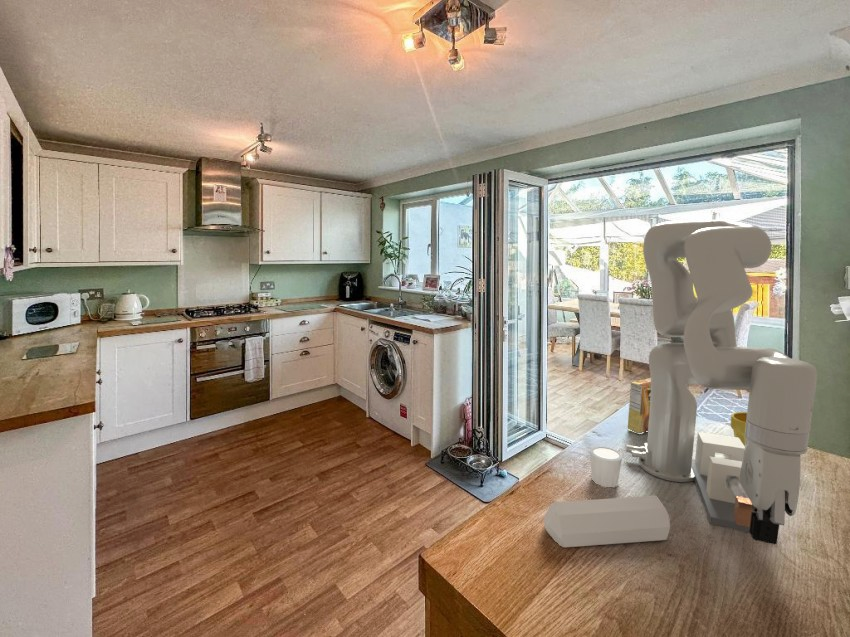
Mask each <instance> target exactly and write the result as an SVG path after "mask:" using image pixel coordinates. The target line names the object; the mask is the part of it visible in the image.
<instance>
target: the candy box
mask: <svg viewBox="0 0 850 637" xmlns="http://www.w3.org/2000/svg"><path fill="white" fill-rule="evenodd" d="M629 392H630V393H629V404H628V406H629V407H628V415H627V416H628V418H627V428H628V429H630V430H632V431H634V432H636V433H642V432H646V431H648V427H649V413H650V398H651V377H649V378H645V379H640V380H639V379H638V380H635V381H632V382H630V391H629Z"/></svg>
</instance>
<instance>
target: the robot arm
mask: <svg viewBox="0 0 850 637" xmlns="http://www.w3.org/2000/svg"><path fill="white" fill-rule="evenodd" d="M642 245H643V246H642V248H643V249H642V252H643V259H644V263H645V266H646V269H647V273H648V276H649V278H650V281H651V282H650V283H651V302H652V315H653V316H652V317H653V325H654V328H655V330H656V332H657V333H658V334H659V335H661V336H663V337H668V338H669V337H670V338H683V342H665V343H661V344H658V345H656V346H654V347H653V348H652V349H651V350H650V352H649V355H648V368H649V375H650V377H649V378H651V398H650V413H649V427H648V433H647V440H646V441H647V442H644V445H640V446H635V445H632V444H626V446H625V452H626V453H630V454H631V457H634V458H638V464H639V466H640V467H641V468H642V469H643V470H644V471H645V472H647V473H649V475H652V476H655V477H657V478H659V479H662V480H666V481H671V482H677V483H688V482H689V483H690V482H693V481H694V480H695V475H694V472H693V469H692V467H691V466H692V459H693V457H694V456H693V455H694V444H695V443H694V442H695V434H696V432H695V431H696V422H697V411H698V410H697V409H698V403H697V399H696V398H695V396H694V395H693V393H692V392H691V390H690V389H689V388H688V385H700V386H701V387H704V388H707V389H711V390H722V391H723V390H732V391H737V390H738V391H749V392H748V403H747V410H746V412H747V419H746V428H745V436H744V437H745V439H746V440H747V441H746V445H745V449H744V454H743V460H742V466H741V472H740V483H741V485H742V487H743V489H744V490H745V492H746V494H747V496H748V498H749V499H750V501H751V503H752V510H753V511H754V512H752V513H751V521H750V530H749V532H750V533H749V534H750V537H751V538H752V539H753V540H754V541H758V542H763V543H767V544H772V545H776V544H778V537H779V530H780V525H781V526H785V524H786V522H785V521H786V520H785V518H786V516H785V515H788V516H789V517H792V516H794V515H795V514H796V512H797V509H798V502H799V495H800V488H801V487H800V486H801V456H802V455H805V454H807V453H808V446H809V441H810V440H809V439H810V431H811V424H812V418H813V411H814V405H815V395H816V389H817V380H818V371H817V368H815V366H814V365H813V364H811V363H809V362H807V361H803V360H801V359H796V358H791V357H789V356H787V355H786V354H785V353H783V352H782V351H780V350H778V349H774V348H770V347H762V346H761V347H760V346H759V347H757V346H756V347H754V346H752V347H751V346H748V347H747V346H737V338H736V325H735V317H734V314H733V311H732V310H734V309H736V308H739V307H740V306H742V305H743V304H745V303H747V302H748V301H749V300H750V299H751V298H752V296H753V287H752V285H751V283H750V279H749V277H748V274H747V272H746V269H755V268H759V267H761V266H762V265H765V263H767V262H768V260H769V259H770V257H771V254H772V251H773V250H772V249H773V248H772V241H771V239H770V236H769V235H768V233H767V232H766V231H765V230H764V229H762V228H761V227H758V226H756V225H752V224H747V223H743V222H737V221H733V220H727V219H706V220H705V219H704V220H702V219H699V220H697V219H696V220H691V219H690V220H671V221H664V222H661V223H657V224H654V225H653V226H651V227H650V228H649V229H648V230H647V232H646V233H645V236H644V240H643V244H642ZM679 258H680V259H681V258H683V259H684V258H685V260H686V264H687V266H688V267H685V265H683V263H682V262H680V261H679V260H678V259H679ZM687 268H688V269H687ZM695 294H696V295H695ZM694 482H695V481H694ZM755 512H756V513H755ZM785 513H786V514H785Z"/></svg>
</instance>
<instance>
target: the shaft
mask: <svg viewBox="0 0 850 637" xmlns="http://www.w3.org/2000/svg"><path fill="white" fill-rule="evenodd" d="M723 459H726V458H723ZM726 481H727V483H728V485H729V487H730V489H731V491H732V493H733V494H734V496H735V498H736V499H735V508H734V516H733V518H734V520H735V522H736V524H737V525H742V526H746V527H750V521H751V513H752V512H754V511H753V510H752V503H751V501H750V499H749V498H748V496H747V494H746V492H745V490H744V489H743V487H742V485H741V483H740V478H739V477H738V476H732V475H727V476H726ZM755 513H756V512H755Z"/></svg>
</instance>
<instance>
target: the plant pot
mask: <svg viewBox="0 0 850 637" xmlns="http://www.w3.org/2000/svg"><path fill="white" fill-rule="evenodd" d="M730 416H731V418H730V428H731V429H732V430H733V437H737V438H739V439H740V440H741V442H742V443H743V445H744V446H745V445H746V441H747V440H746V439H745V437H744V436H745V428H746V419H747V411H745V412H744V411H743V412H742V411H741V412H740V411H738V412H733V413H731V415H730Z"/></svg>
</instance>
